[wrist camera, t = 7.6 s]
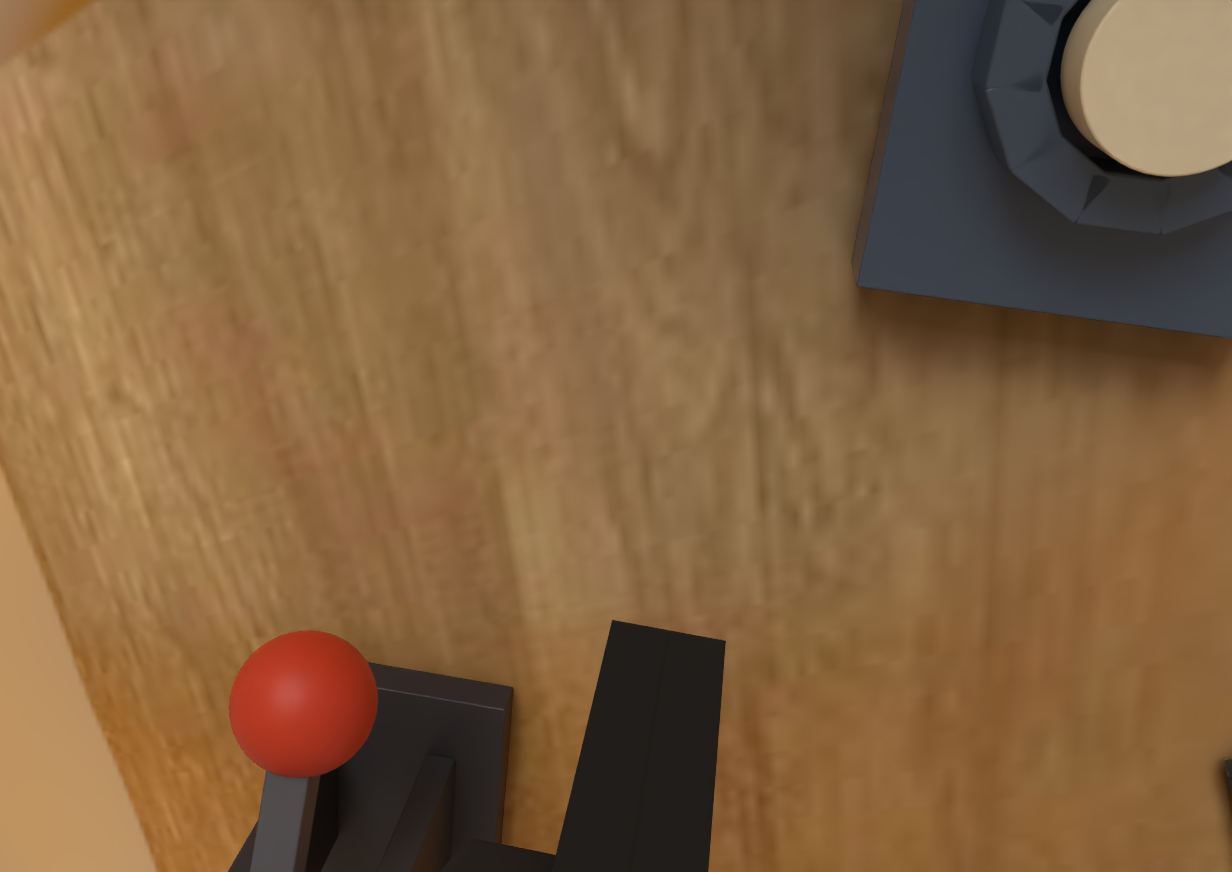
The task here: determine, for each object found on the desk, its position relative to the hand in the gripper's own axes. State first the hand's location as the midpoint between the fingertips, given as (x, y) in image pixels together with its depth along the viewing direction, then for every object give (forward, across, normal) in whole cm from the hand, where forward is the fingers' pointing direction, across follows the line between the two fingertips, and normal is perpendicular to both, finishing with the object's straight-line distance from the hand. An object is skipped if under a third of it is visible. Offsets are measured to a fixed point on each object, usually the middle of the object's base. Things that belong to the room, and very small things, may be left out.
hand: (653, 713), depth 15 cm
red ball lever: (+9, -8, -15) cm, 19 cm away
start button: (+13, +8, +8) cm, 18 cm away
